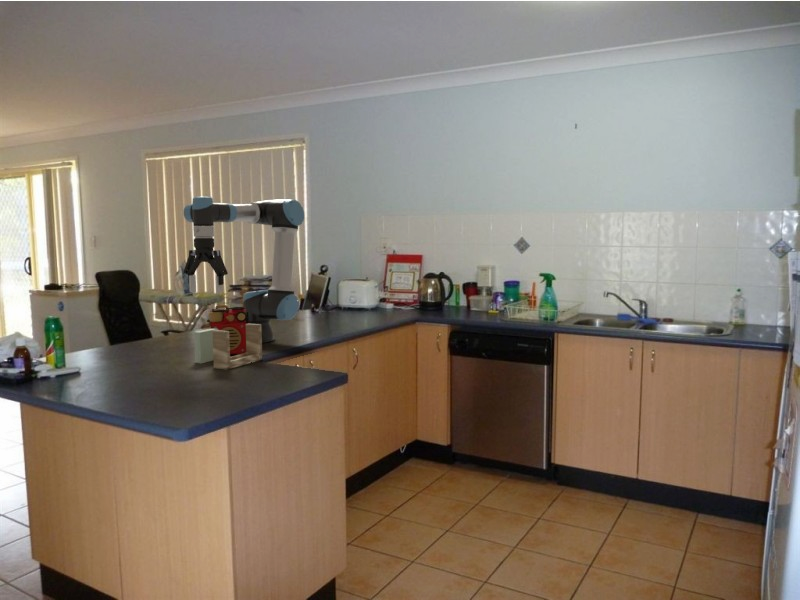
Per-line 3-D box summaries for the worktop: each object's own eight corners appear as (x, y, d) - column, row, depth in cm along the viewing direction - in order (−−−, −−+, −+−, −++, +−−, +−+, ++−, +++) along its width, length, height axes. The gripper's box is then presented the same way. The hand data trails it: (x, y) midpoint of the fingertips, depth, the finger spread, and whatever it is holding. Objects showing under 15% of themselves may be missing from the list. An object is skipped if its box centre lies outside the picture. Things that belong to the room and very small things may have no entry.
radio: (210, 356, 253) (208, 307, 251) (210, 352, 263) (209, 304, 260) (250, 354, 257) (248, 306, 255) (249, 350, 267) (248, 303, 265)
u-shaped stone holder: (250, 358, 250) (248, 323, 248) (262, 359, 247) (261, 324, 246) (213, 368, 232) (212, 330, 231) (226, 369, 229) (225, 331, 228)
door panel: (213, 357, 251) (212, 328, 249) (219, 358, 249) (218, 328, 248) (195, 362, 242) (193, 331, 241) (200, 363, 241) (199, 332, 239)
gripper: (172, 237, 242) (175, 292, 245) (222, 237, 231) (224, 295, 234) (187, 237, 249) (189, 290, 251) (235, 237, 238) (237, 293, 240)
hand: (206, 292), depth 243 cm, fingers open, 13 cm apart
